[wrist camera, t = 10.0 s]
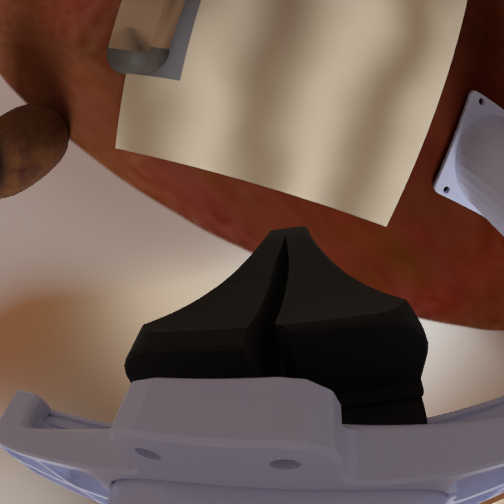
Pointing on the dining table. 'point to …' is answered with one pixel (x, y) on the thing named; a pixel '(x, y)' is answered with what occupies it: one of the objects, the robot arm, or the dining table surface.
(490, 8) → the dining table surface
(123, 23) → the walnut leg
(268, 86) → the maple seat
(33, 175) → the wooden figurine
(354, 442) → the robot arm
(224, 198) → the dining table surface
